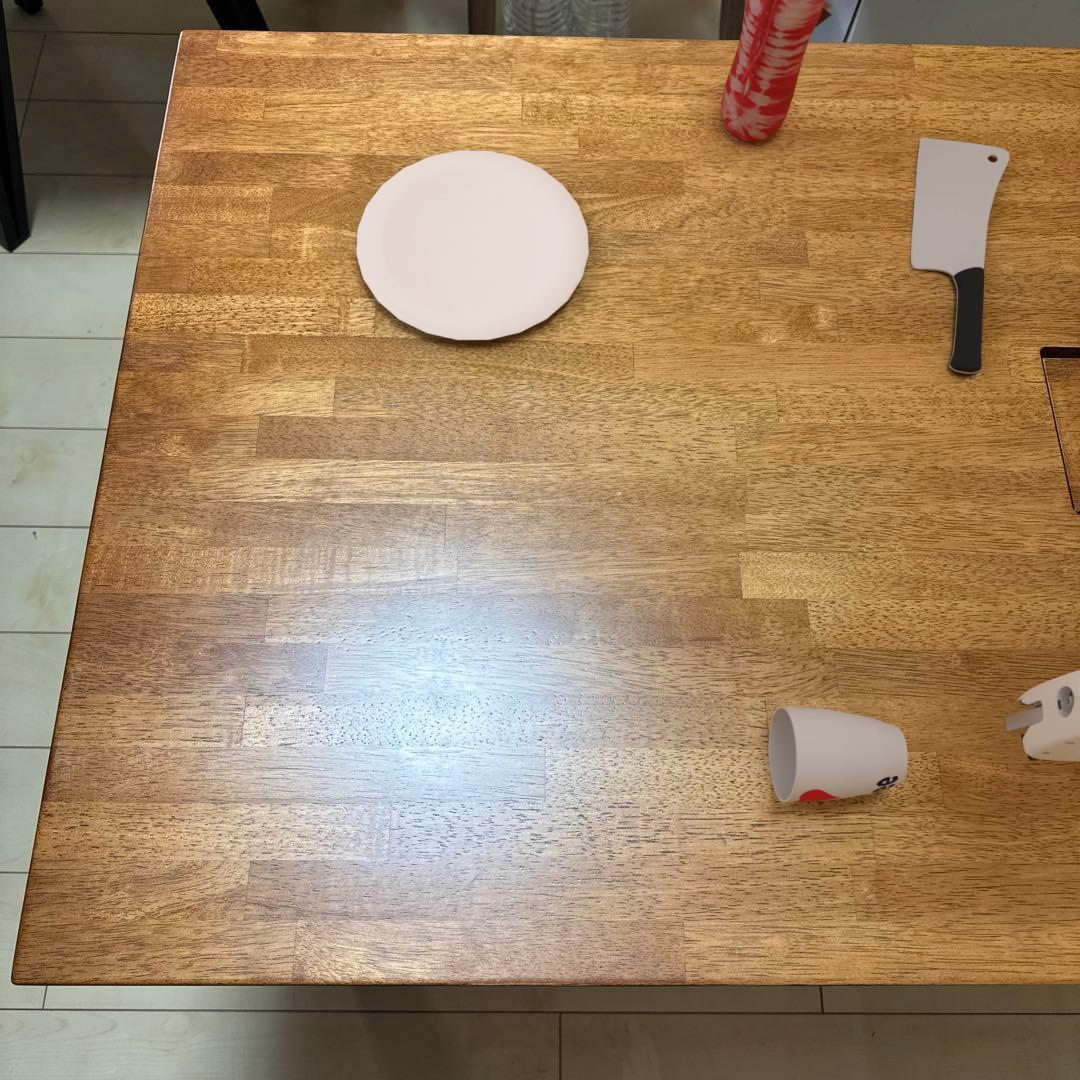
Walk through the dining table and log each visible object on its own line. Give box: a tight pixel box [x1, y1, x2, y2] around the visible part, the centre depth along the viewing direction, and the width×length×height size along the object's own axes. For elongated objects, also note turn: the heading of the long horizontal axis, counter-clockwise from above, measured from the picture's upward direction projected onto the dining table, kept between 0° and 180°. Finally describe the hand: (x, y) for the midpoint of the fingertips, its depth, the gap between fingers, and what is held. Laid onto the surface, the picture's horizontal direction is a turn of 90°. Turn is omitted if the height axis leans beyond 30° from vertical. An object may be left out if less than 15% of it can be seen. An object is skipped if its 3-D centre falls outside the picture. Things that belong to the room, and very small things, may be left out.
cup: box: [767, 705, 909, 803], centre depth 88 cm, size 8×8×10 cm
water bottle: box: [720, 0, 833, 143], centre depth 107 cm, size 12×8×25 cm, turn 140°
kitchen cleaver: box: [910, 137, 1011, 377], centre depth 112 cm, size 31×2×10 cm
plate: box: [355, 150, 590, 342], centre depth 110 cm, size 25×25×2 cm
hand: (1035, 741), depth 83 cm, fingers closed
